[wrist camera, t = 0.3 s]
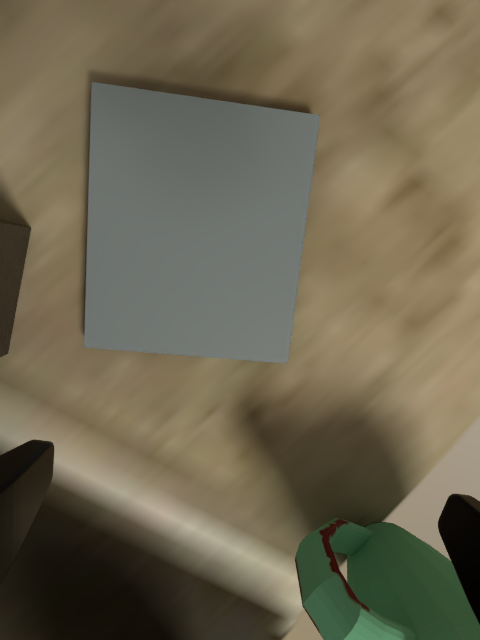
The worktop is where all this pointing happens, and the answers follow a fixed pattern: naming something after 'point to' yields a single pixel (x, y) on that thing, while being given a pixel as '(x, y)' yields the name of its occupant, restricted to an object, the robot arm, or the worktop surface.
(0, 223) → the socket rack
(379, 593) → the mug
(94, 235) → the board
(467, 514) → the robot arm
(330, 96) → the worktop surface
